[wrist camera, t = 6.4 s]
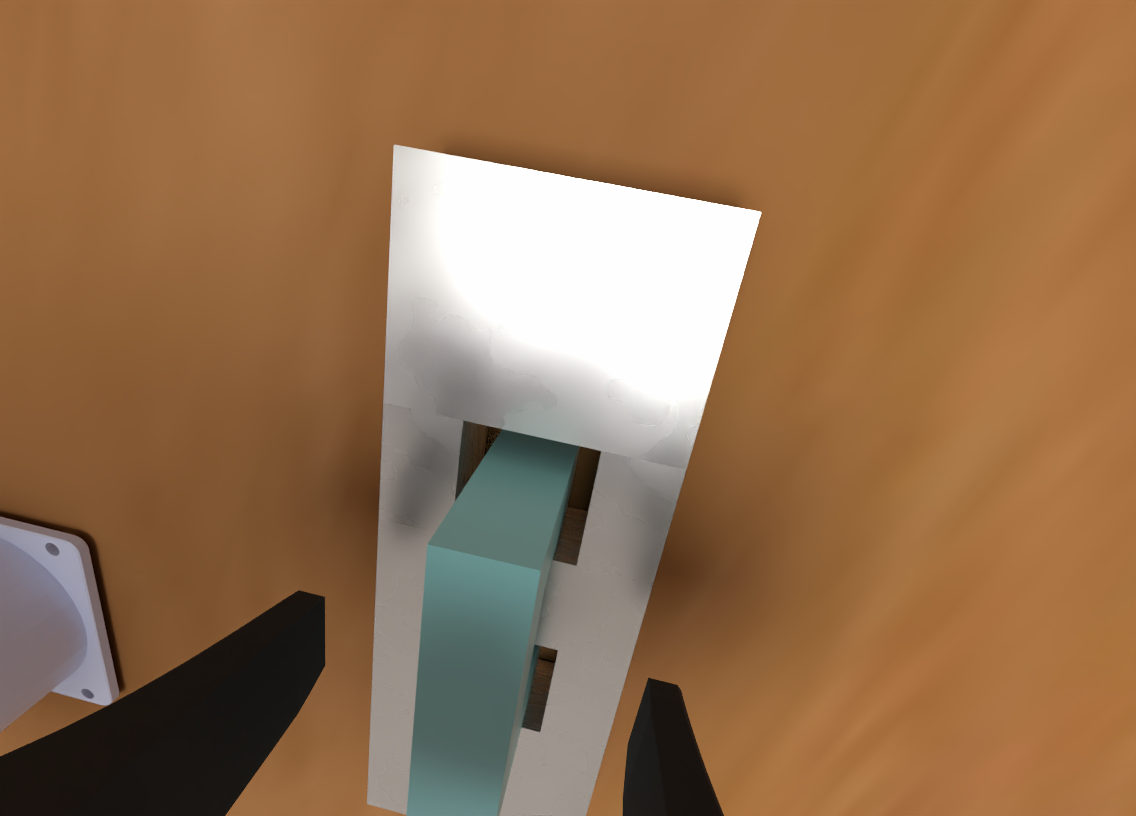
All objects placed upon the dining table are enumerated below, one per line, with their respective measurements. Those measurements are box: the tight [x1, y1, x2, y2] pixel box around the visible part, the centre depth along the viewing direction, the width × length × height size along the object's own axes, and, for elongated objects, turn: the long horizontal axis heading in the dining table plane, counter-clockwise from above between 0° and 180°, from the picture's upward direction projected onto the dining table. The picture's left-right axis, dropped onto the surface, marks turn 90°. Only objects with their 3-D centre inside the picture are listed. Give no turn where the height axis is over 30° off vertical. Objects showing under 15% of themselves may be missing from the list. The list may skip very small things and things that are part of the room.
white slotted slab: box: [367, 145, 761, 816], centre depth 15 cm, size 7×20×2 cm, turn 170°
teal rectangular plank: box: [406, 429, 580, 816], centre depth 13 cm, size 2×8×6 cm, turn 171°
